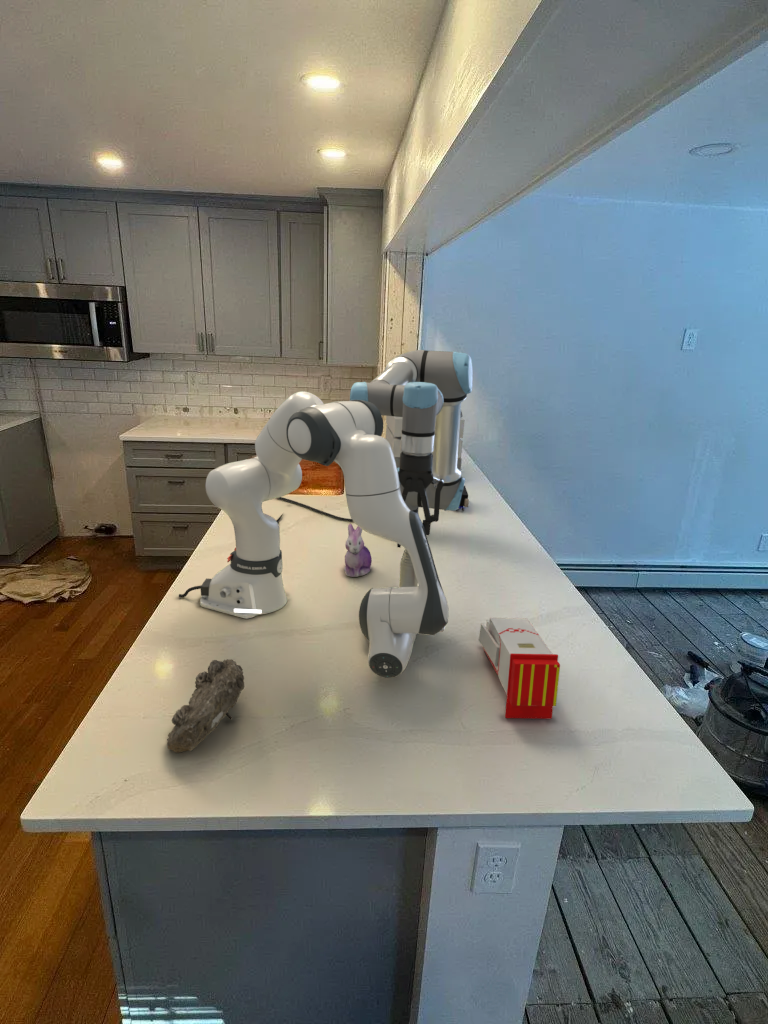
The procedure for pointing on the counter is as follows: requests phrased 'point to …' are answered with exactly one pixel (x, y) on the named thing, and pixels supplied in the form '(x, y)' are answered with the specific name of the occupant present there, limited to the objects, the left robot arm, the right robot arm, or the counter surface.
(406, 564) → the bottle
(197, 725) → the fossil
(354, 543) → the figurine
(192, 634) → the counter surface
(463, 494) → the figurine character
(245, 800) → the counter surface
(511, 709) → the toy
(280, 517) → the feather
